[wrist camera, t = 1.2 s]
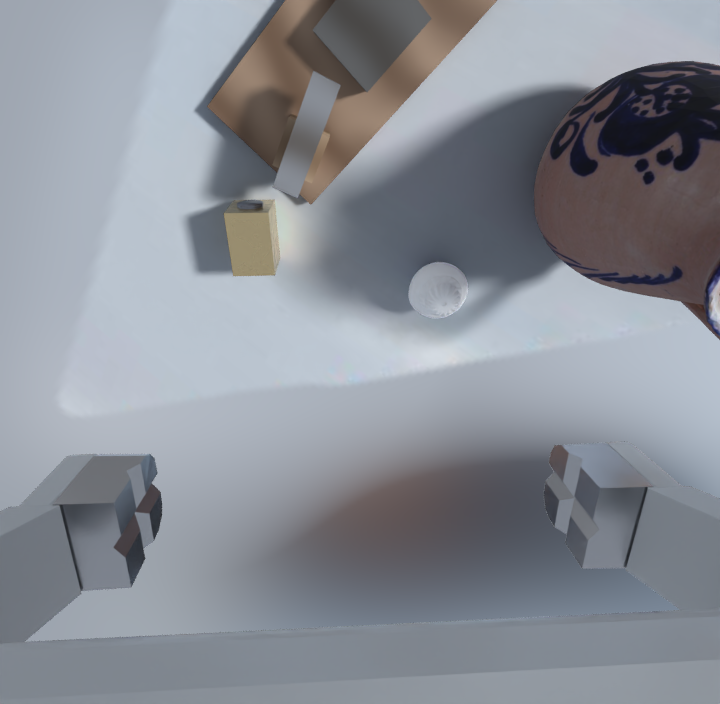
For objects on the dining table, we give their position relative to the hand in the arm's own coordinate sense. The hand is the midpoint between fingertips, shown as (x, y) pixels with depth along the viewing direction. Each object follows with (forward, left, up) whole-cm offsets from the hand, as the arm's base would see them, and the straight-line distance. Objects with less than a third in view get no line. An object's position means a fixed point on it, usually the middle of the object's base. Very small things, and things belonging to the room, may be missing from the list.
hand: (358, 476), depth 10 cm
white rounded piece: (+2, +16, -41) cm, 44 cm away
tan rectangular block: (+11, -1, -41) cm, 42 cm away
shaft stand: (-9, -5, -41) cm, 42 cm away
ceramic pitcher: (-17, +21, -41) cm, 49 cm away
